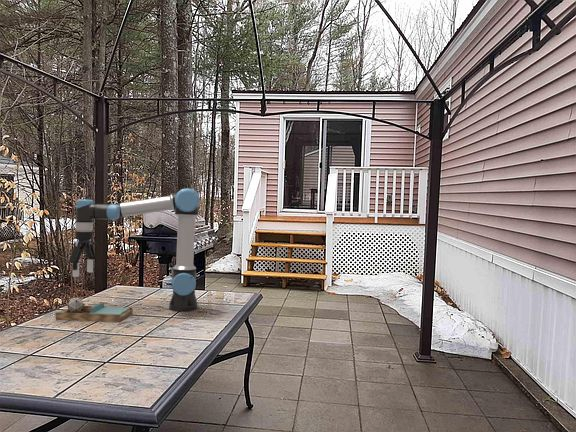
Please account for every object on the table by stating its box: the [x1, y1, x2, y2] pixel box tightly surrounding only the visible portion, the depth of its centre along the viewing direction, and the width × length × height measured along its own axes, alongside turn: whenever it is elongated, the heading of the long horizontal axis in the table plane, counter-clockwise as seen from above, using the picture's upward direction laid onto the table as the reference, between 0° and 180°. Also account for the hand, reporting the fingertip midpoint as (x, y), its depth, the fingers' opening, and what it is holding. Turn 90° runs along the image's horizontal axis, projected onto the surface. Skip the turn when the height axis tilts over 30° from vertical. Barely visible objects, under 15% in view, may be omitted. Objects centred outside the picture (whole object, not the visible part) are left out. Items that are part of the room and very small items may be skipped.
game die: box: [64, 296, 86, 313], centre depth 205 cm, size 9×8×10 cm
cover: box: [90, 301, 131, 315], centre depth 203 cm, size 14×13×3 cm
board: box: [55, 305, 133, 323], centre depth 203 cm, size 30×15×3 cm, turn 89°
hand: (83, 274), depth 203 cm, fingers open, 13 cm apart
